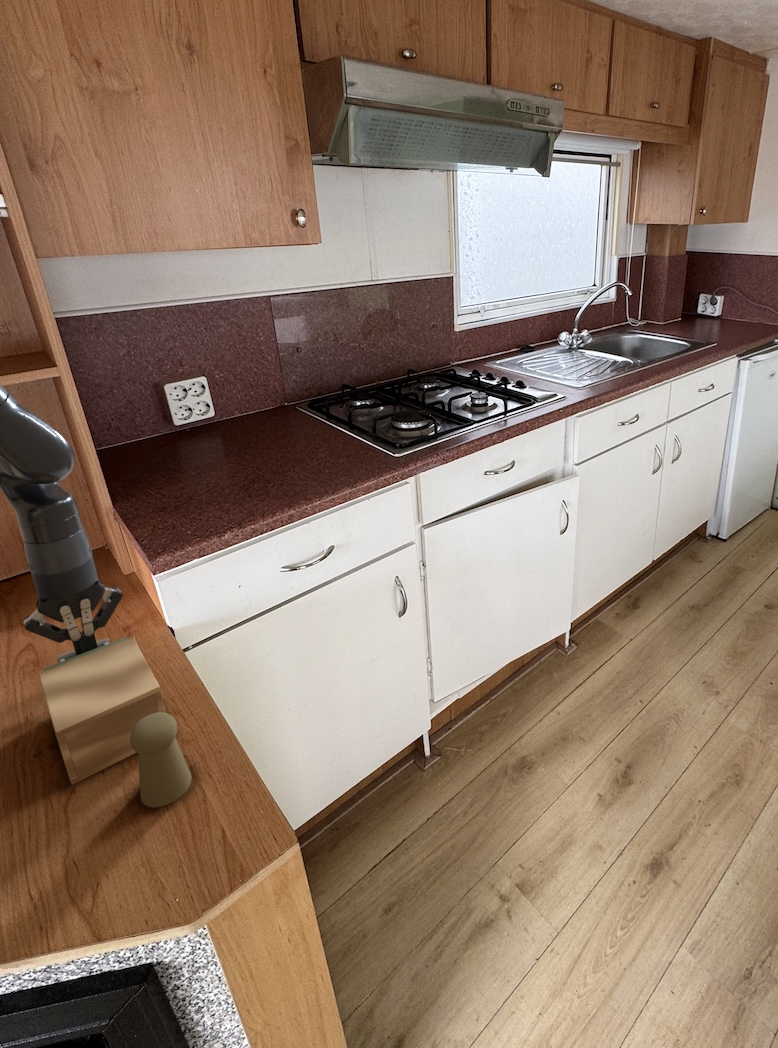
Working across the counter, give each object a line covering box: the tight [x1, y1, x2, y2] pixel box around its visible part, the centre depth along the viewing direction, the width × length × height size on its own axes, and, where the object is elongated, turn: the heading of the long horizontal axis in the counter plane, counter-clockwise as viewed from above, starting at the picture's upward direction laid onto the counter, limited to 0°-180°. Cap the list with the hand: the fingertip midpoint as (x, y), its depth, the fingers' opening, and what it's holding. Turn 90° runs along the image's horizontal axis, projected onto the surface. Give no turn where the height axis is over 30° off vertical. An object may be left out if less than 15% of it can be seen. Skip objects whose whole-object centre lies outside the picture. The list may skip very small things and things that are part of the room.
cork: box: [130, 712, 193, 808], centre depth 75 cm, size 6×6×11 cm
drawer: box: [42, 636, 129, 672], centre depth 88 cm, size 19×11×7 cm, turn 44°
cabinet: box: [38, 637, 166, 786], centre depth 85 cm, size 15×12×9 cm
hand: (87, 654), depth 92 cm, fingers closed
